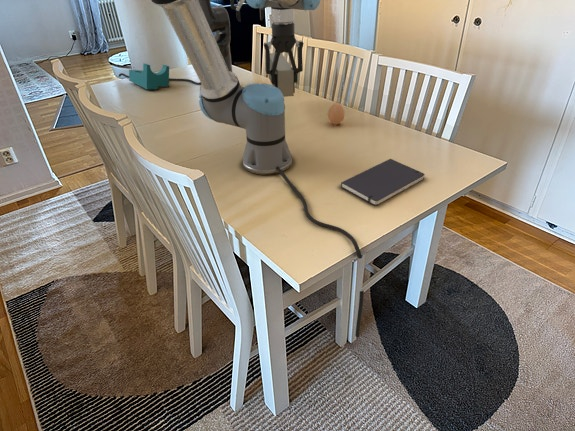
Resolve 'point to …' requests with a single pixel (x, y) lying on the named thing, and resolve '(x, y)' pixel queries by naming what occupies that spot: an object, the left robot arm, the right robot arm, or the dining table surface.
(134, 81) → the teal notched block
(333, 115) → the egg
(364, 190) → the notebook
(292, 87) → the bar
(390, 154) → the dining table surface
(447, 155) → the dining table surface
